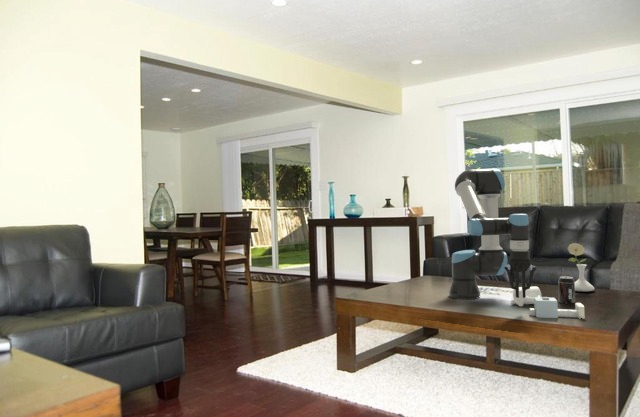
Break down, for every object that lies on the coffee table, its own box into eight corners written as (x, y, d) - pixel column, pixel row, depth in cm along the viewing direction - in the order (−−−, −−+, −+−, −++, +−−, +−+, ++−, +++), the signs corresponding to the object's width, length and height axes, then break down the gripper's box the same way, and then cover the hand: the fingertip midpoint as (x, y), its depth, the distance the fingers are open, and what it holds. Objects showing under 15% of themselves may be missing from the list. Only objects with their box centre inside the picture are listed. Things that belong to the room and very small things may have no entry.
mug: (512, 302, 236) (512, 286, 236) (533, 301, 237) (532, 285, 236) (525, 308, 224) (525, 290, 224) (546, 307, 225) (546, 289, 224)
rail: (531, 316, 207) (531, 304, 207) (529, 313, 214) (529, 301, 214) (584, 318, 201) (584, 306, 201) (580, 314, 208) (580, 303, 208)
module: (536, 317, 206) (536, 299, 206) (534, 313, 213) (534, 295, 213) (557, 318, 204) (557, 299, 204) (554, 314, 211) (554, 296, 211)
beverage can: (576, 304, 228) (575, 278, 227) (559, 304, 230) (559, 278, 230) (574, 301, 234) (573, 276, 234) (558, 301, 236) (557, 275, 236)
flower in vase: (598, 291, 257) (597, 243, 257) (587, 294, 251) (586, 244, 250) (573, 288, 268) (573, 241, 267) (562, 290, 261) (561, 243, 261)
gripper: (503, 251, 209) (505, 306, 210) (537, 251, 206) (538, 307, 206) (502, 249, 217) (503, 303, 217) (535, 249, 213) (536, 304, 213)
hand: (520, 305), depth 211 cm, fingers closed
